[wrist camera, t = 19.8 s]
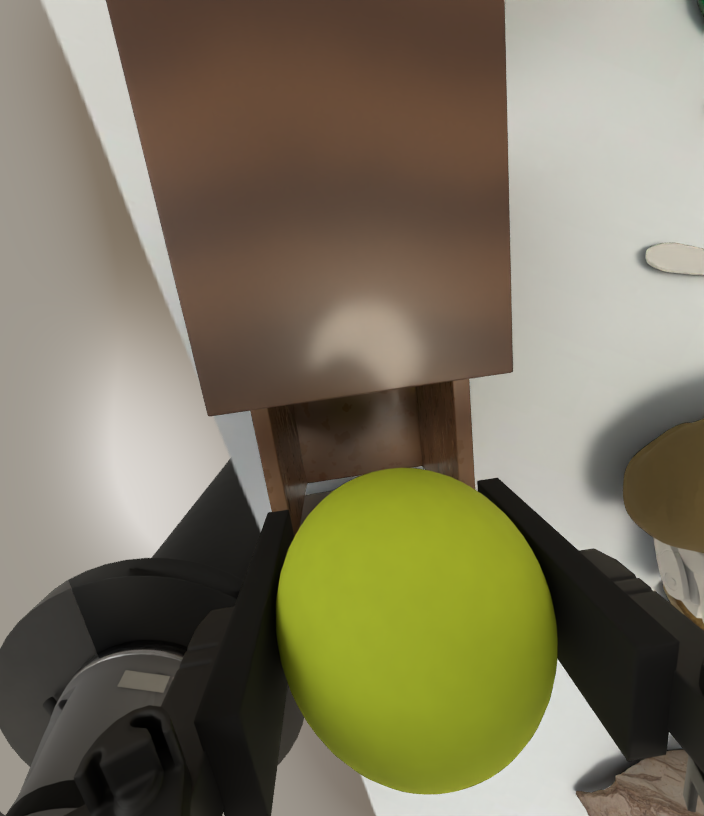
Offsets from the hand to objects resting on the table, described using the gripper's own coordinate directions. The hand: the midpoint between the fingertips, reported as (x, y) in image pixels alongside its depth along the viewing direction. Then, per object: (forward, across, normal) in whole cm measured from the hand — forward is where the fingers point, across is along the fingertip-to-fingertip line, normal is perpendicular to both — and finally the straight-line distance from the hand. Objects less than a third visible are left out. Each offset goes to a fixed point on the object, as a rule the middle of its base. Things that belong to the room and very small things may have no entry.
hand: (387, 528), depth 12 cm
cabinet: (+14, 0, +11) cm, 18 cm away
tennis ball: (-3, 0, 0) cm, 3 cm away
